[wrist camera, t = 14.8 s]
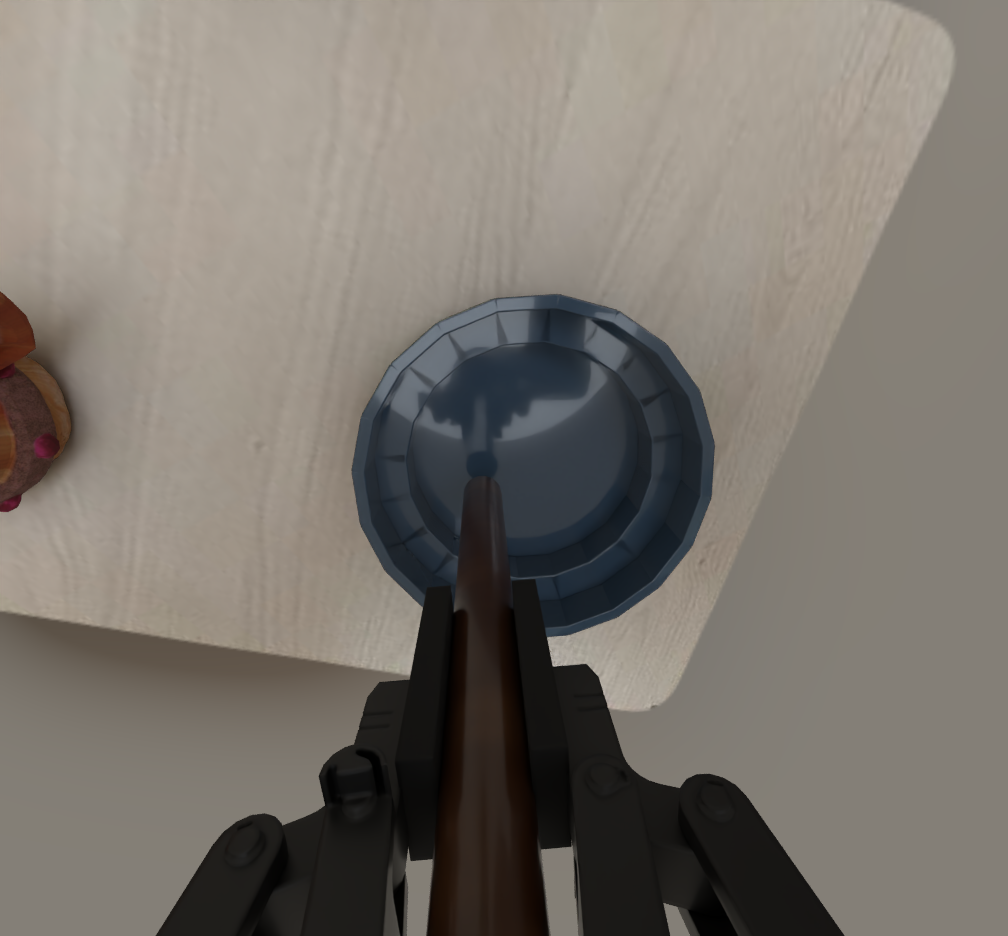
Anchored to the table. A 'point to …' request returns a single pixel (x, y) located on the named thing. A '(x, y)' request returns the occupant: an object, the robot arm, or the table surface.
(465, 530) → the stick
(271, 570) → the table surface
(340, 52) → the table surface
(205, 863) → the robot arm
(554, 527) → the bowl
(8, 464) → the mug
